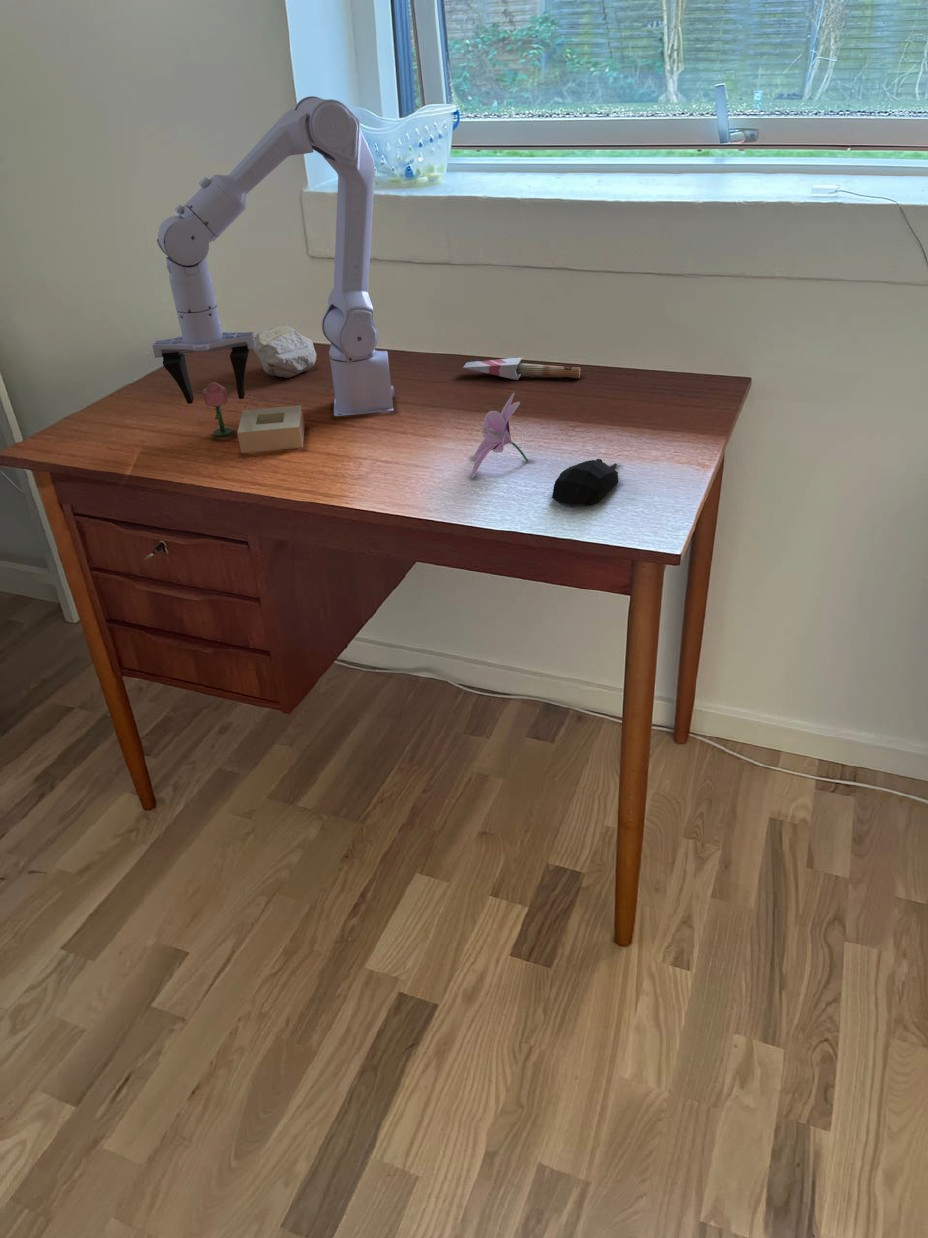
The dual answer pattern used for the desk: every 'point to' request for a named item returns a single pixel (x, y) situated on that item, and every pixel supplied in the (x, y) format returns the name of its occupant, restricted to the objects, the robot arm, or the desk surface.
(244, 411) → the beige square socket block
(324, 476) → the desk surface
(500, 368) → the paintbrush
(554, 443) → the desk surface
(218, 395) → the flower
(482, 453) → the lily
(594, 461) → the gaming mouse
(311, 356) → the white rock
